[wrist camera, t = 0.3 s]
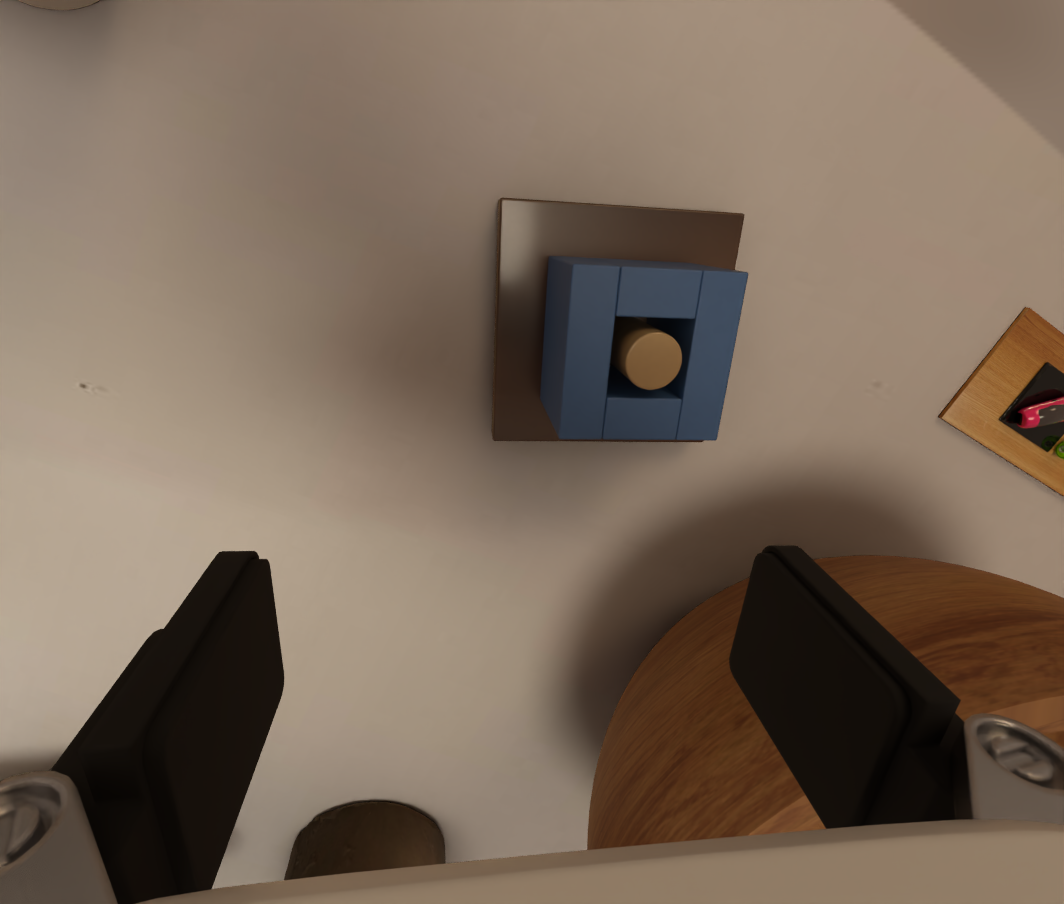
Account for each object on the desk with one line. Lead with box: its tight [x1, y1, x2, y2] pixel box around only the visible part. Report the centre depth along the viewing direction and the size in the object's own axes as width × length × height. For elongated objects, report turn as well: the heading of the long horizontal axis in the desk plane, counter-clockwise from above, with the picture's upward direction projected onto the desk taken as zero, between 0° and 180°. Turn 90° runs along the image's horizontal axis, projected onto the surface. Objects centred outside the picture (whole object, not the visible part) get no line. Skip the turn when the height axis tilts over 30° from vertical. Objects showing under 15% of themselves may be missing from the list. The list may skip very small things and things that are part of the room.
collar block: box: [540, 256, 748, 440], centre depth 21 cm, size 6×6×5 cm
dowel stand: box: [492, 198, 744, 442], centre depth 22 cm, size 10×10×7 cm
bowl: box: [587, 555, 1064, 850], centre depth 26 cm, size 25×25×15 cm
